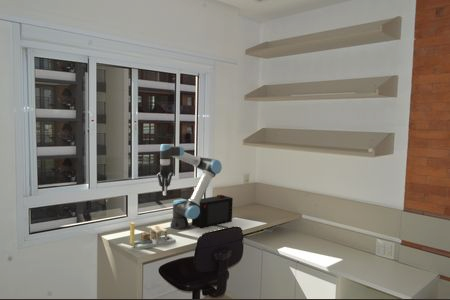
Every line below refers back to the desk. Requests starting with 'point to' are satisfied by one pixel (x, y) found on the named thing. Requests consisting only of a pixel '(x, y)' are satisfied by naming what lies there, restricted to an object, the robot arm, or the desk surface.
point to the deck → (160, 242)
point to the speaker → (214, 211)
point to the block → (145, 236)
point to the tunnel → (157, 232)
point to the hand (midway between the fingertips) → (164, 195)
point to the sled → (132, 227)
